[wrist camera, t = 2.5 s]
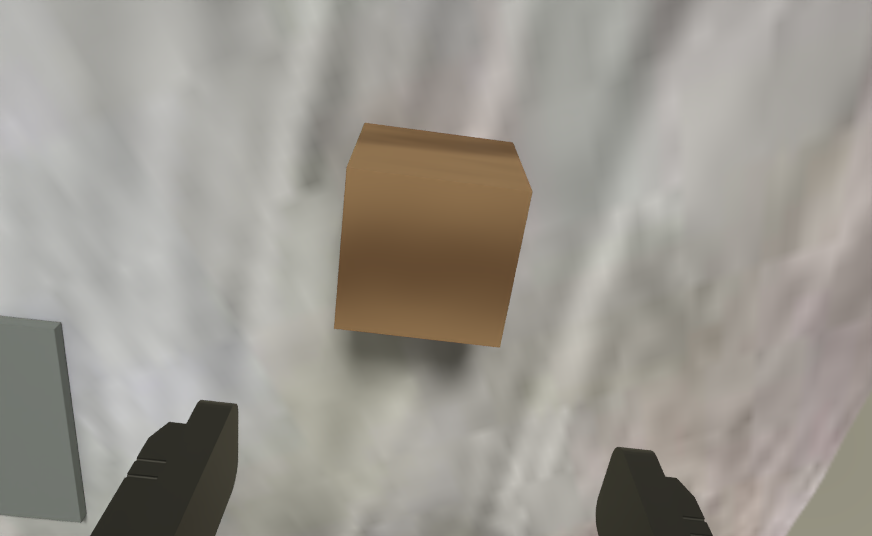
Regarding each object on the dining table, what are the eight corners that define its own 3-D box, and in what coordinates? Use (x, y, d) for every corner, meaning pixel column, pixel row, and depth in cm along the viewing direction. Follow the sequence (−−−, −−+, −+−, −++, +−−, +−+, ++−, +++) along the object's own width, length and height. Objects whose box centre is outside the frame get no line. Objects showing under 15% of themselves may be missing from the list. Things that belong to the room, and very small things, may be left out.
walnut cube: (364, 122, 26) (346, 167, 21) (512, 142, 27) (532, 191, 21) (352, 257, 29) (333, 328, 23) (488, 273, 29) (499, 347, 24)
